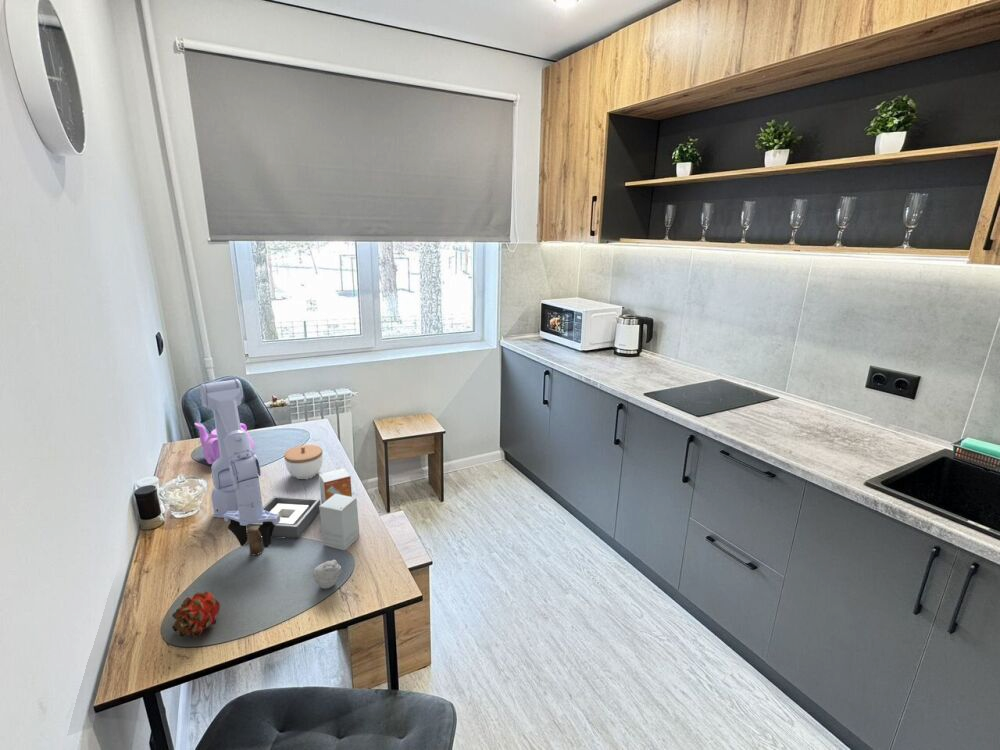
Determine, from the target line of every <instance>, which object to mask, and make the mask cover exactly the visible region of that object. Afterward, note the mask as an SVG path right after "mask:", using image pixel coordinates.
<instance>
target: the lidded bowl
mask: <svg viewBox="0 0 1000 750" xmlns="http://www.w3.org/2000/svg"><path fill="white" fill-rule="evenodd" d="M283 458H284V462H285V467H286V469H287V471H288V473H289V474H290V475H291V476H292V477H294V478H295V477H296V478H297V479H296V478H295V479H296V480H298V479H306V480H309V479H308V478H310V479H312V478H311V477H313V476H314V477H315V476H316V475H317V473H319V472H320V470H321V468H322V465H323V449H322V448H321V446H319V445H315V444H303V445H298V446H295V447H292V448H290V449H287V450H286V451H285V452H284V455H283ZM314 477H313V478H314Z"/></svg>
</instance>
